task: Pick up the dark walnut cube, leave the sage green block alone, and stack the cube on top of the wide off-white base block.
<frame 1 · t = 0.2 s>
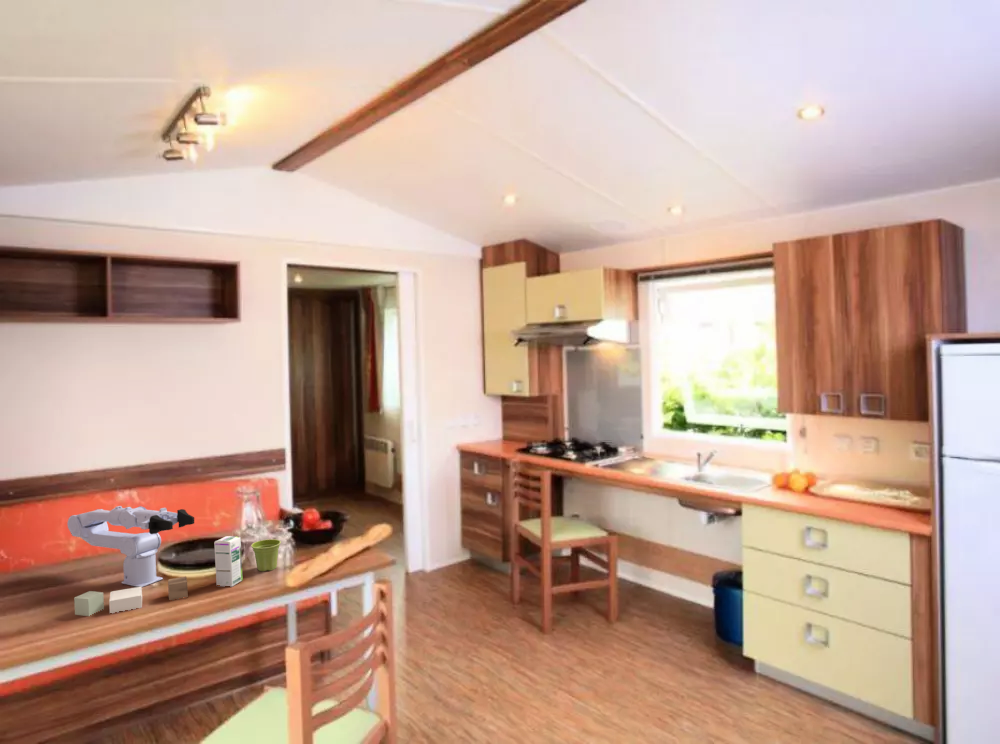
hand: (182, 523, 199), 21 cm above the table, tool horizontal, fingers open, 7 cm apart
walnut block: (178, 596, 196), on the table
plant pot: (267, 569, 219), on the table
syrup box: (229, 583, 206), on the table
sage green block: (89, 612, 185), on the table
base block: (126, 606, 189), on the table
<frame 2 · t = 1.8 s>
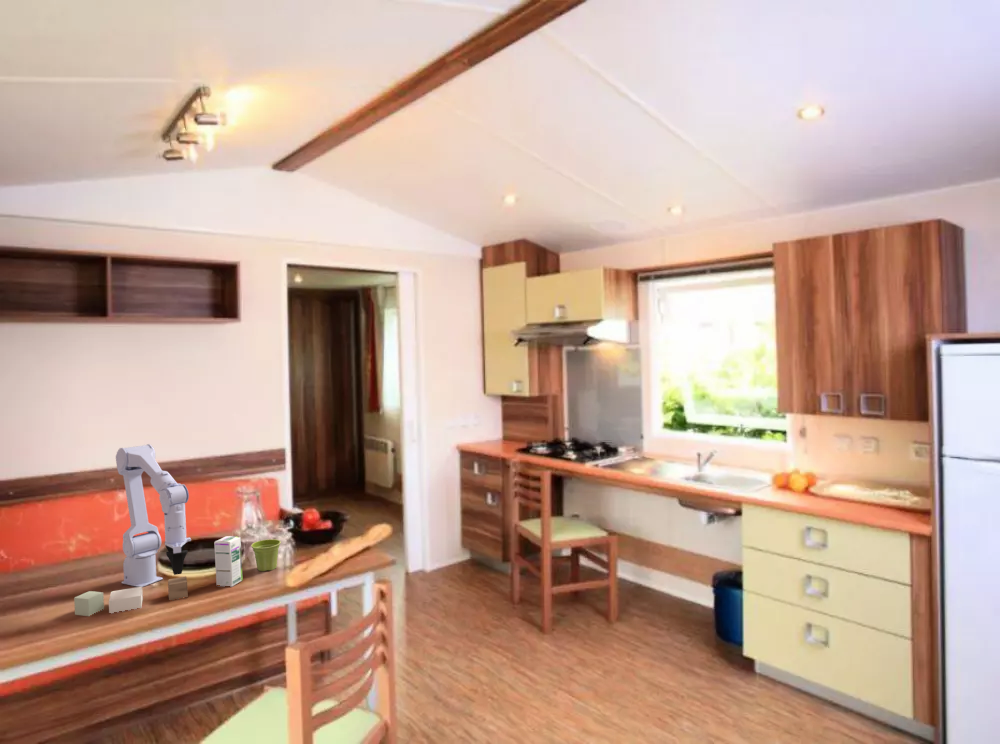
hand: (177, 570, 195), 8 cm above the table, tool pointing down, fingers open, 7 cm apart
nothing on the table moved.
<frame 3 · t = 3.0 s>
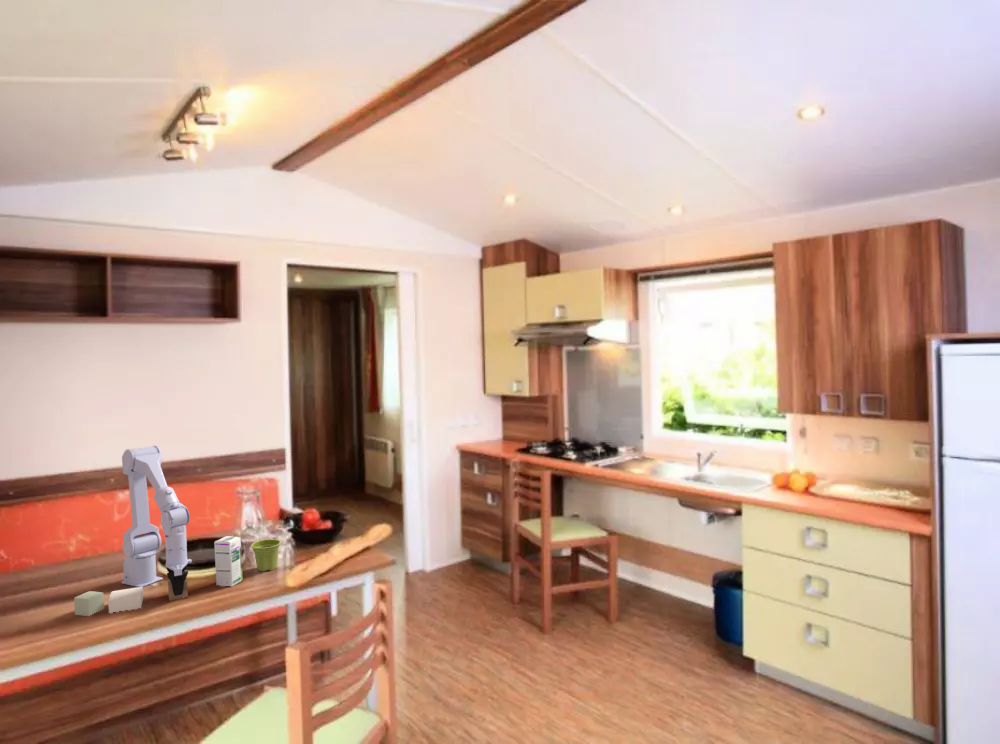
hand: (177, 591, 196), 1 cm above the table, tool pointing down, fingers closed on walnut block, 5 cm apart
walnut block: (178, 596, 196), on the table, touching gripper
everything else where it was.
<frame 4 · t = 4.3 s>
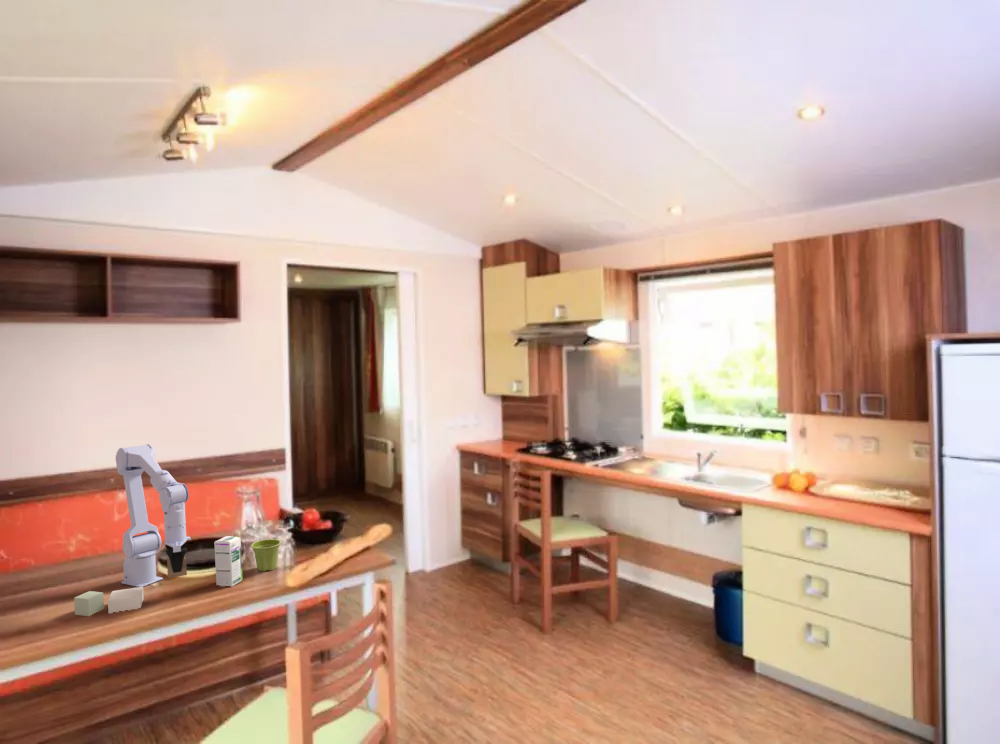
hand: (176, 569, 195), 8 cm above the table, tool pointing down, fingers closed on walnut block, 5 cm apart
walnut block: (177, 574, 195), point 7 cm above the table, touching gripper
everything else where it was.
when the fingers open (7 cm above the table, at t = 6.0 s): walnut block drops 2 cm, point 4 cm above the table.
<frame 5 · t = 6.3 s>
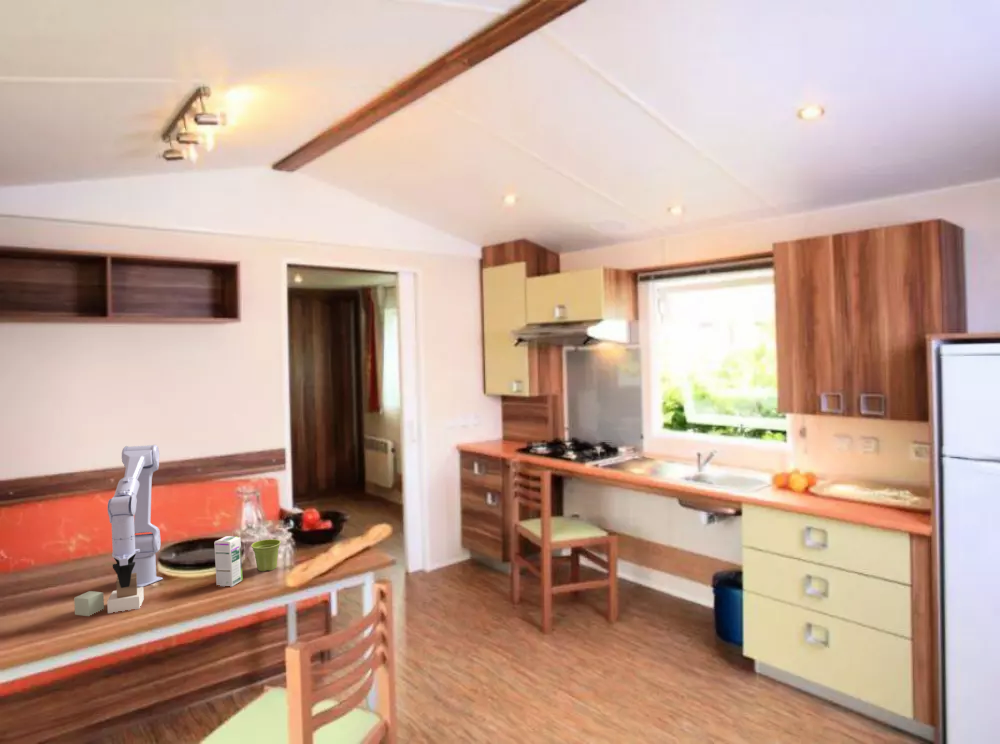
hand: (125, 582, 189), 7 cm above the table, tool pointing down, fingers open, 7 cm apart
walnut block: (127, 593, 189), point 4 cm above the table
everything else where it was.
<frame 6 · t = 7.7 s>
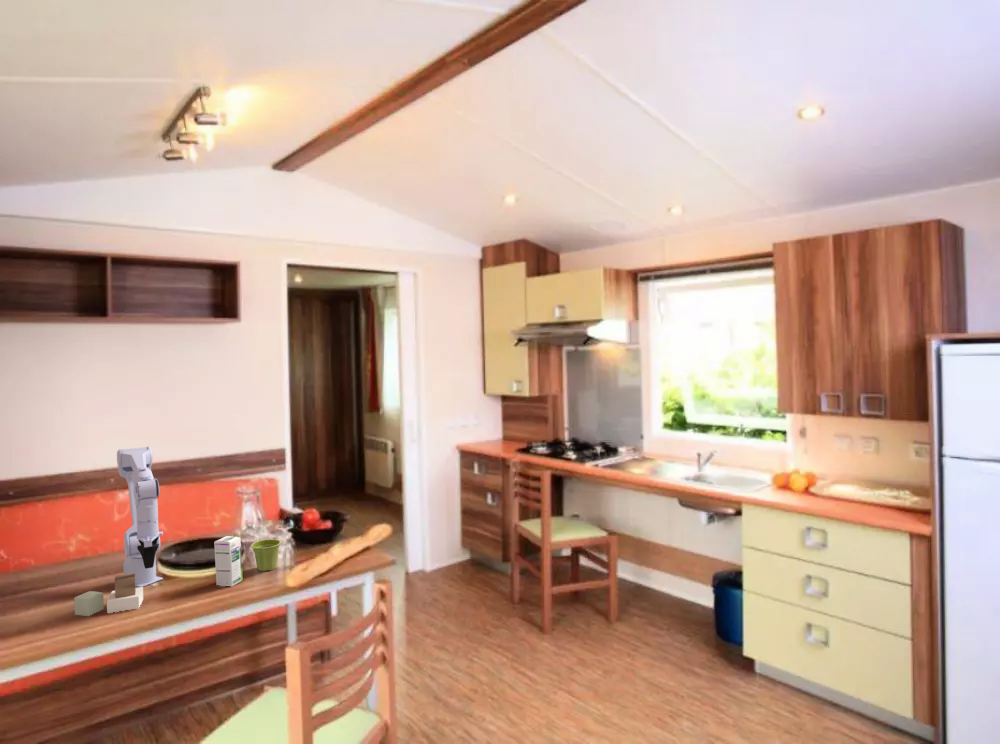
hand: (149, 563, 196), 10 cm above the table, tool pointing down, fingers open, 7 cm apart
walnut block: (125, 593, 189), point 4 cm above the table, touching base block
base block: (125, 607, 189), on the table, touching walnut block
everything else where it was.
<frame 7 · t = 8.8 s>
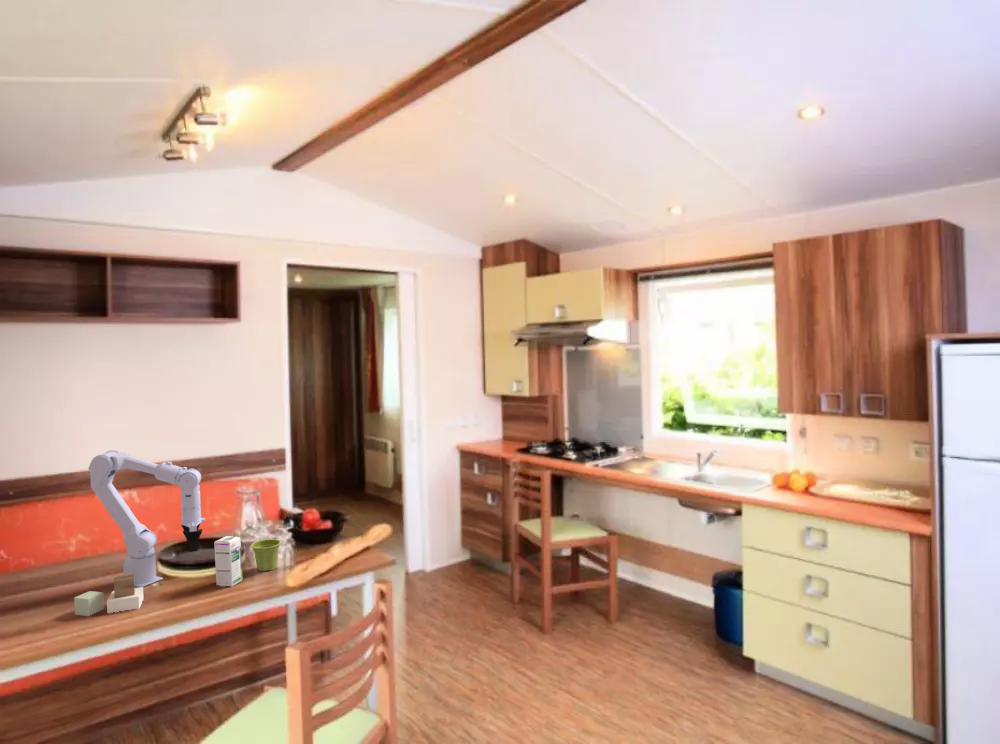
hand: (192, 548, 211), 10 cm above the table, tool pointing down, fingers open, 7 cm apart
nothing on the table moved.
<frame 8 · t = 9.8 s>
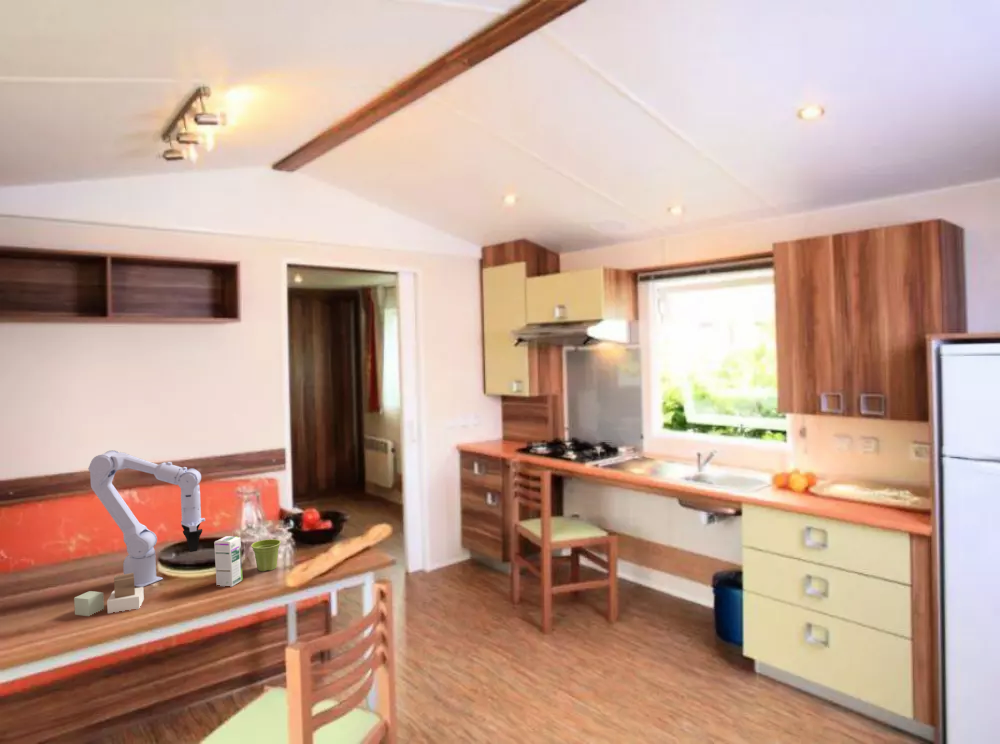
hand: (192, 548, 211), 10 cm above the table, tool pointing down, fingers open, 7 cm apart
walnut block: (124, 593, 189), point 4 cm above the table
base block: (126, 607, 189), on the table
everything else where it was.
at the end: walnut block 0.2 cm off-centre on the base block, point 4.0 cm above the base block's base; walnut block tilted 0°; the gripper is holding nothing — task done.
